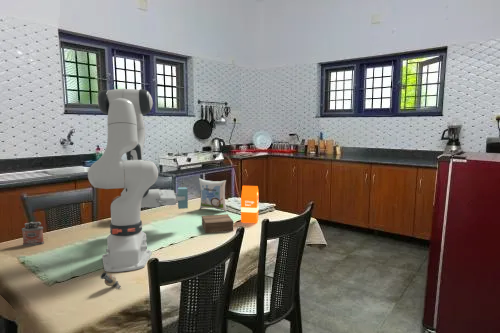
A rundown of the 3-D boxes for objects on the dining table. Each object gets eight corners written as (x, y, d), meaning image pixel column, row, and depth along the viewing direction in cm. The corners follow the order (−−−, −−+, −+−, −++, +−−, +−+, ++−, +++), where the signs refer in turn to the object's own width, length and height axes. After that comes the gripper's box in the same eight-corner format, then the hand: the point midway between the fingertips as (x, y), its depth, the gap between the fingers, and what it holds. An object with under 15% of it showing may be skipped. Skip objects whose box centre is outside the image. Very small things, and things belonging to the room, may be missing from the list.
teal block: (187, 208, 168) (187, 188, 166) (178, 208, 166) (178, 189, 165) (186, 206, 172) (186, 187, 171) (178, 206, 171) (177, 187, 169)
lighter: (21, 246, 145) (20, 224, 144) (24, 243, 148) (23, 221, 147) (42, 244, 147) (41, 222, 146) (45, 242, 150) (43, 220, 149)
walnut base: (233, 230, 169) (233, 221, 168) (205, 233, 165) (205, 223, 164) (227, 223, 182) (227, 214, 181) (201, 225, 178) (201, 215, 177)
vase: (104, 294, 104) (102, 276, 104) (99, 289, 108) (97, 271, 108) (121, 289, 107) (120, 271, 107) (116, 284, 112) (114, 267, 111)
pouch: (203, 207, 217) (203, 177, 215) (229, 210, 209) (229, 179, 207) (196, 209, 210) (196, 178, 208) (222, 213, 202) (222, 181, 200)
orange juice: (256, 223, 182) (257, 187, 180) (240, 222, 183) (240, 186, 181) (258, 219, 190) (258, 184, 187) (243, 218, 191) (243, 184, 189)
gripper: (156, 196, 155) (186, 194, 158) (155, 188, 174) (182, 187, 178) (156, 209, 155) (186, 207, 159) (156, 200, 175) (182, 198, 179)
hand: (184, 196), depth 169 cm, fingers closed on teal block, 4 cm apart
